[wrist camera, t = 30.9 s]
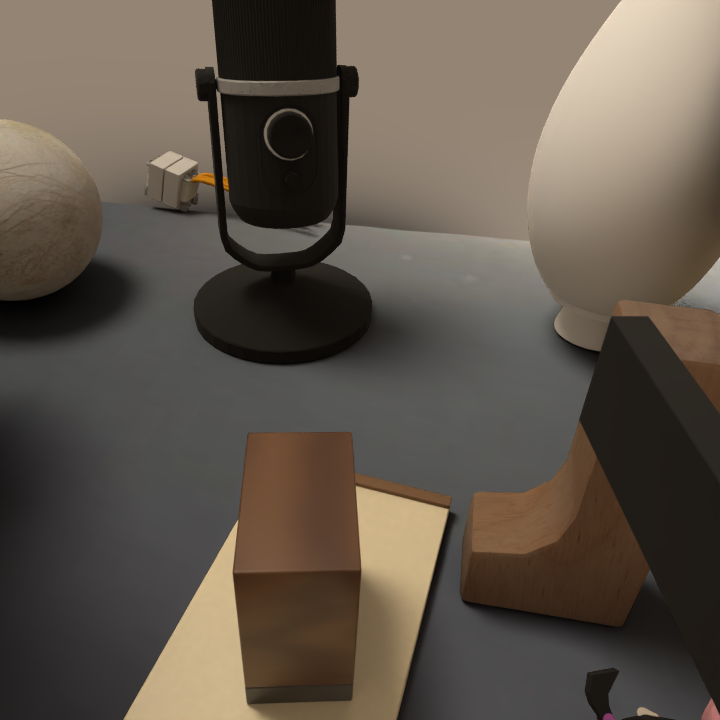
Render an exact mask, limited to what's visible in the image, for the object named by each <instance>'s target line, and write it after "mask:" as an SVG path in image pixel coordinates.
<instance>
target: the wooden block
mask: <svg viewBox="0 0 720 720" xmlns="http://www.w3.org/2000/svg"><path fill="white" fill-rule="evenodd" d="M612 316H649V318H650V319H651V320H652V322H653V323H654V325H655V326H656V327H657V329H658V330H659V331H660V333H661V334H662V335H663V337H664V338H665V340H666V341H667V342H668V344H669V345H670V346H671V348H672V349H673V350H674V352H675V353H676V355H677V356H678V357H679V359H680V360H681V361H682V363H683V364H684V365H685V367H686V368H687V370H688V371H689V372H690V374H691V375H692V376H693V378H694V379H695V380H696V382H697V383H698V385H699V386H700V387H701V389H702V390H703V391H704V393H705V394H706V395H707V397H708V398H709V400H710V401H711V402H712V404H713V405H714V406H715V408H716V409H717V410H718V412H719V413H720V316H719V314H717V313H715V312H713V311H711V310H704V309H695V308H687V307H679V306H670V305H662V304H653V303H645V302H637V301H628V300H622V301H619V302H618V303H617V304H616V306H615V308H614V311H613V314H612ZM649 570H650V568H649V566H648V564H647V561H646V559H645V557H644V555H643V553H642V551H641V549H640V547H639V545H638V543H637V540H636V538H635V536H634V534H633V532H632V530H631V528H630V526H629V524H628V522H627V519H626V517H625V515H624V513H623V511H622V509H621V507H620V505H619V503H618V501H617V498H616V496H615V494H614V492H613V490H612V488H611V486H610V484H609V482H608V480H607V477H606V475H605V473H604V471H603V469H602V467H601V465H600V463H599V461H598V459H597V456H596V454H595V452H594V450H593V448H592V446H591V444H590V442H589V440H588V437H587V435H586V433H585V431H584V429H583V427H582V425H581V423H580V421H579V423H578V427H577V430H576V433H575V436H574V439H573V443H572V446H571V449H570V452H569V456H568V459H567V460H566V462H565V463H564V464H563V466H562V467H561V468H560V470H559V471H558V472H557V474H556V475H555V477H554V478H553V479H552V480H551V481H548V482H546V483H544V484H542V485H539V486H537V487H535V488H533V489H531V490H528V491H526V492H524V493H501V492H477V493H475V494H474V495H473V497H472V499H471V503H470V508H469V513H468V518H467V523H466V527H465V532H464V537H463V546H462V564H461V582H460V594H461V597H462V599H463V600H465V601H467V602H473V603H479V604H485V605H491V606H497V607H503V608H509V609H514V610H520V611H526V612H532V613H538V614H544V615H550V616H556V617H562V618H568V619H574V620H580V621H586V622H591V623H597V624H603V625H609V626H615V627H618V626H622V625H623V624H624V622H625V620H626V618H627V616H628V614H629V612H630V610H631V608H632V605H633V603H634V601H635V599H636V597H637V595H638V593H639V591H640V589H641V587H642V584H643V582H644V580H645V578H646V576H647V574H648V572H649Z"/></svg>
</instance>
